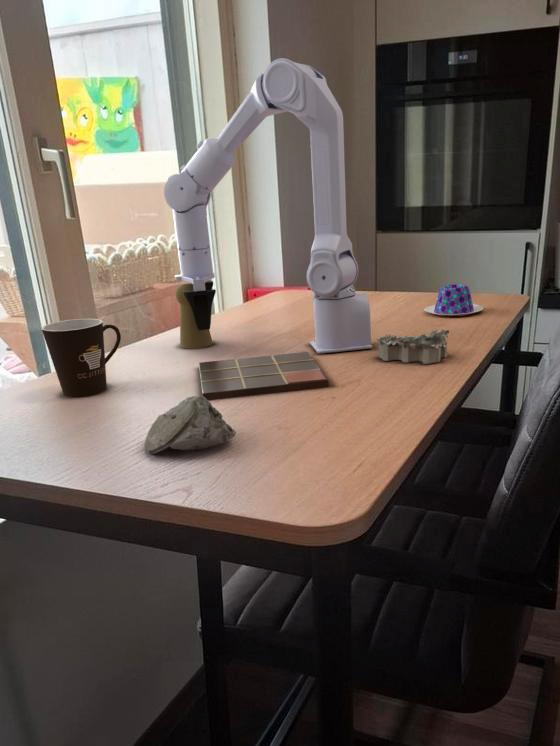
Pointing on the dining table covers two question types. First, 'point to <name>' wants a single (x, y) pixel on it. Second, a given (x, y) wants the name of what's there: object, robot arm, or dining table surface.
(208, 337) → the olive pawn
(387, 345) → the egg carton
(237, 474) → the dining table surface
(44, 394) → the dining table surface
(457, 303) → the pudding
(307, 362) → the board
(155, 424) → the fossilized seashell
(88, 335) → the coffee mug
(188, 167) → the robot arm
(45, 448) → the dining table surface
